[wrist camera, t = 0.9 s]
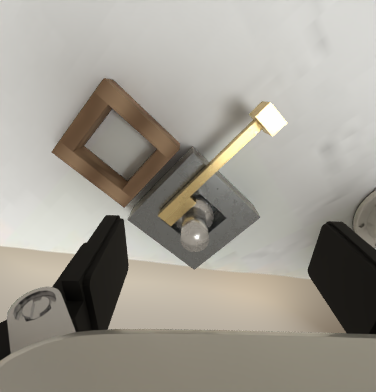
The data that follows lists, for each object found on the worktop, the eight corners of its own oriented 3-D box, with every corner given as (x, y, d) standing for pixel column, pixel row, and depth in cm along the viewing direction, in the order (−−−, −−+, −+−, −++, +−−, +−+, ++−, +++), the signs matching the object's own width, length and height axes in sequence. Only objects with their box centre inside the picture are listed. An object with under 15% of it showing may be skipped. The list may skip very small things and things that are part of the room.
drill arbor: (218, 205, 37) (228, 239, 28) (193, 227, 39) (195, 266, 30) (192, 182, 35) (194, 211, 26) (167, 206, 37) (161, 241, 28)
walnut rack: (180, 143, 32) (179, 149, 29) (129, 197, 36) (124, 207, 33) (113, 79, 29) (103, 78, 26) (64, 146, 33) (51, 152, 29)
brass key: (279, 122, 27) (289, 125, 24) (171, 222, 33) (170, 233, 30) (261, 101, 26) (270, 102, 23) (153, 207, 32) (150, 218, 29)
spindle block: (253, 205, 37) (260, 217, 33) (193, 254, 41) (194, 269, 37) (192, 146, 33) (193, 152, 29) (133, 207, 37) (127, 219, 33)
